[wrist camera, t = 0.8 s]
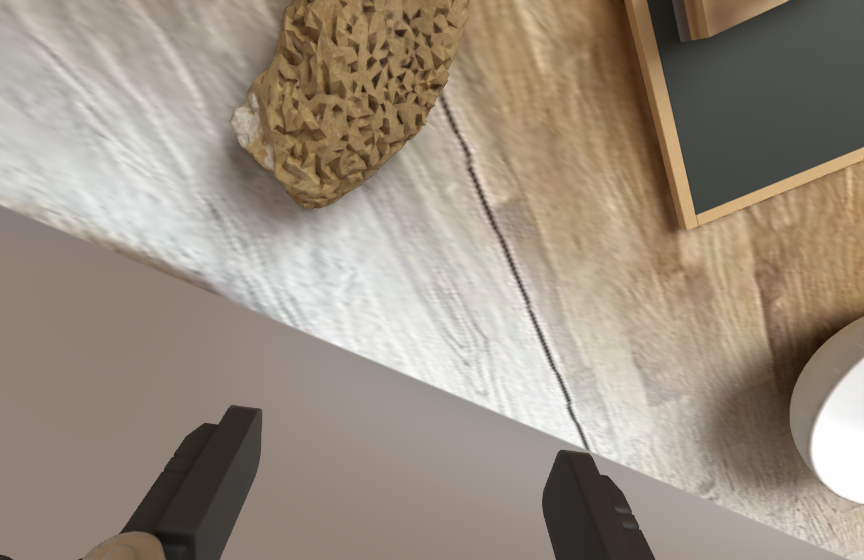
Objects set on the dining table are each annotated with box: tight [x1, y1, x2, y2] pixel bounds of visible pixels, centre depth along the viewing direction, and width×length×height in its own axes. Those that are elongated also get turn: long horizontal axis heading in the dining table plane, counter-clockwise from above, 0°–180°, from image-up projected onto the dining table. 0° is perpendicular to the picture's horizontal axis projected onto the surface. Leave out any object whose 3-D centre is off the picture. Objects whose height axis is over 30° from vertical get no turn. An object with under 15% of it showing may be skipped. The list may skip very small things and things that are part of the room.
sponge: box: [231, 0, 470, 209], centre depth 30 cm, size 13×8×20 cm
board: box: [624, 0, 864, 231], centre depth 33 cm, size 21×17×1 cm
